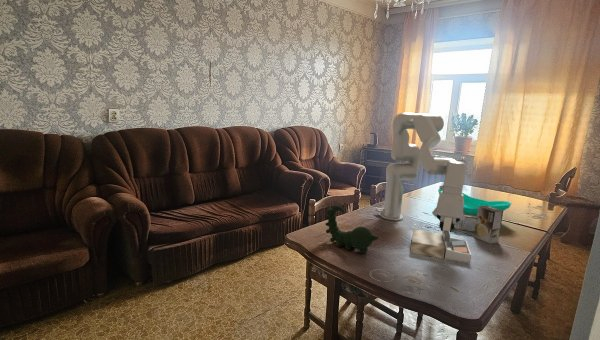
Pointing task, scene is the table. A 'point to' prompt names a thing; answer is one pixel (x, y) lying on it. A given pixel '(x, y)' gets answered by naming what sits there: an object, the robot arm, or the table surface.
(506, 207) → the table top decor
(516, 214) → the table surface
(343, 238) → the toy figurine
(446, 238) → the scraper
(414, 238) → the wood grain block
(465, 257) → the box
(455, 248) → the tile terracotta
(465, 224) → the tin
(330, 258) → the table surface
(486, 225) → the coffee box
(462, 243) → the tile slate
